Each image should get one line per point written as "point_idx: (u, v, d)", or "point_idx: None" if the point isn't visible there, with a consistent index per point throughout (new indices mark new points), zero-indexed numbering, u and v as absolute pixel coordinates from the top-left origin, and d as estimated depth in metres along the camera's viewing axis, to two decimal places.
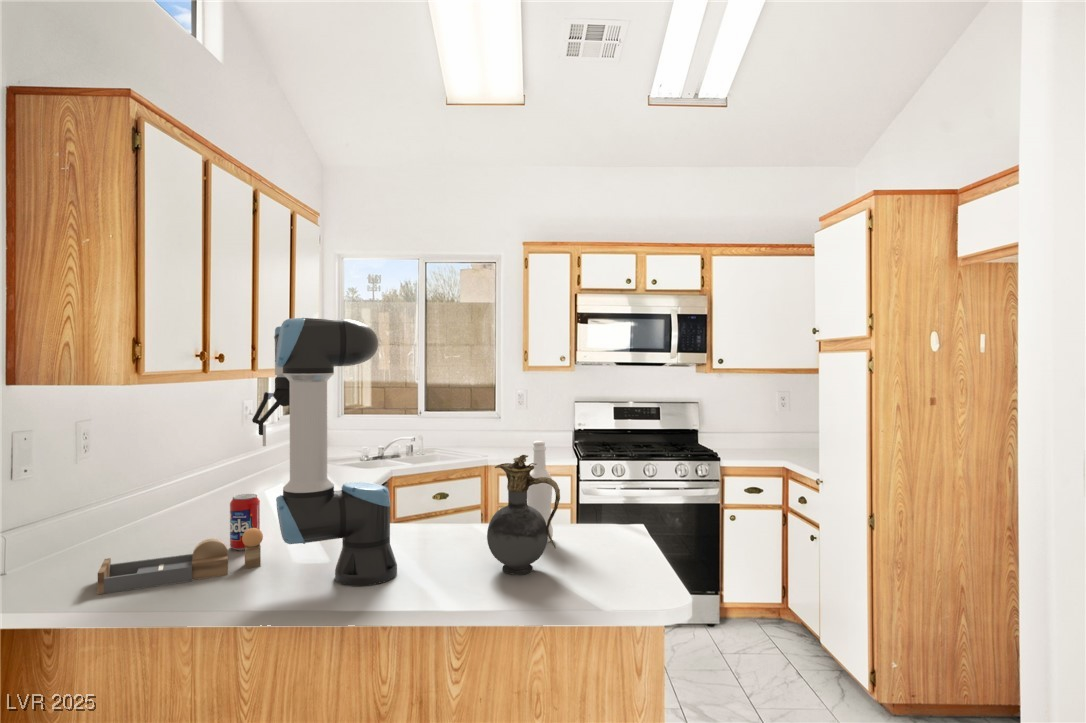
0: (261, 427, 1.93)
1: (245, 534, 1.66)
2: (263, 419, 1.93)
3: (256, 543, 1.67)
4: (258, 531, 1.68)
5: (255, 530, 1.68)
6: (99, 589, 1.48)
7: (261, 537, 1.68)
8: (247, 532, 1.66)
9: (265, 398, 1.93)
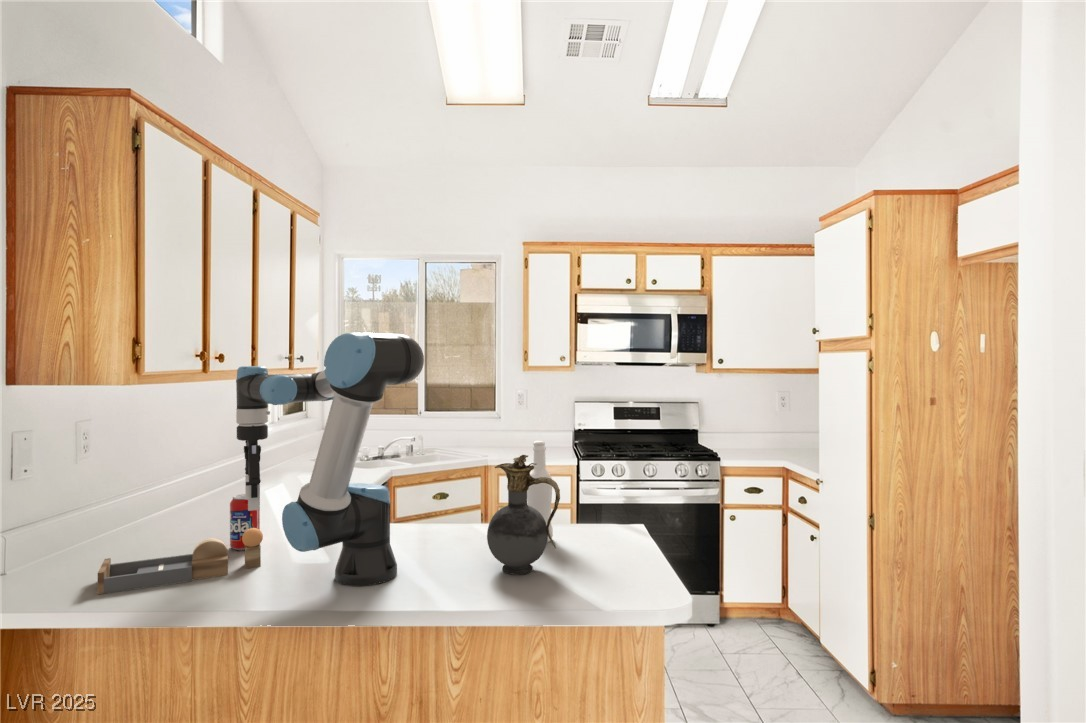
0: None
1: (245, 534, 1.66)
2: (246, 469, 1.74)
3: (256, 543, 1.67)
4: (258, 531, 1.68)
5: (255, 530, 1.68)
6: (99, 589, 1.48)
7: (261, 537, 1.68)
8: (247, 532, 1.66)
9: (246, 446, 1.73)
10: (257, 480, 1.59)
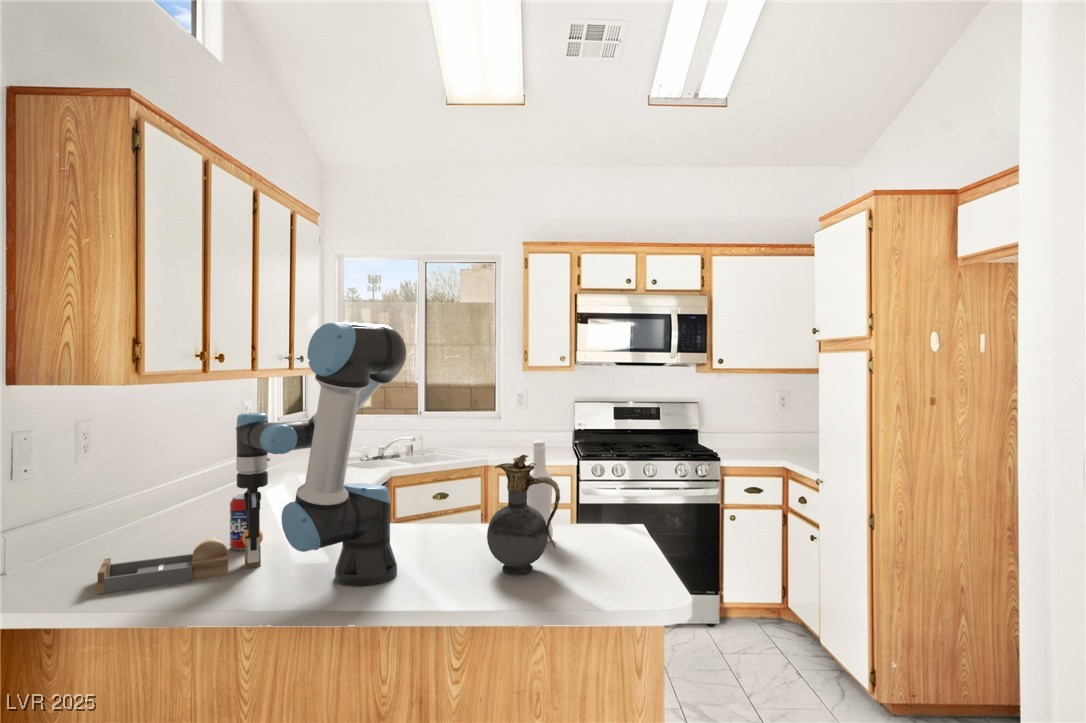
0: None
1: (245, 534, 1.66)
2: (246, 524, 1.71)
3: None
4: None
5: None
6: (99, 589, 1.48)
7: (261, 537, 1.68)
8: (247, 532, 1.66)
9: None
10: (256, 535, 1.63)
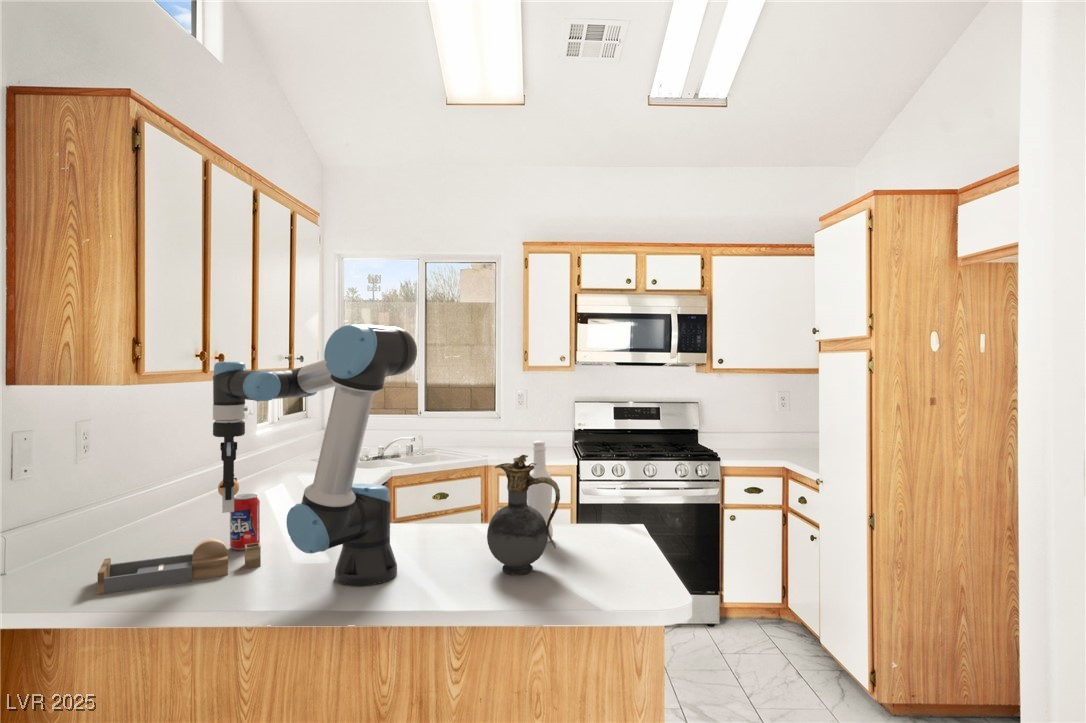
0: None
1: (221, 484, 1.64)
2: None
3: None
4: (234, 481, 1.65)
5: None
6: (99, 589, 1.48)
7: (237, 487, 1.66)
8: (222, 482, 1.64)
9: None
10: (231, 484, 1.61)
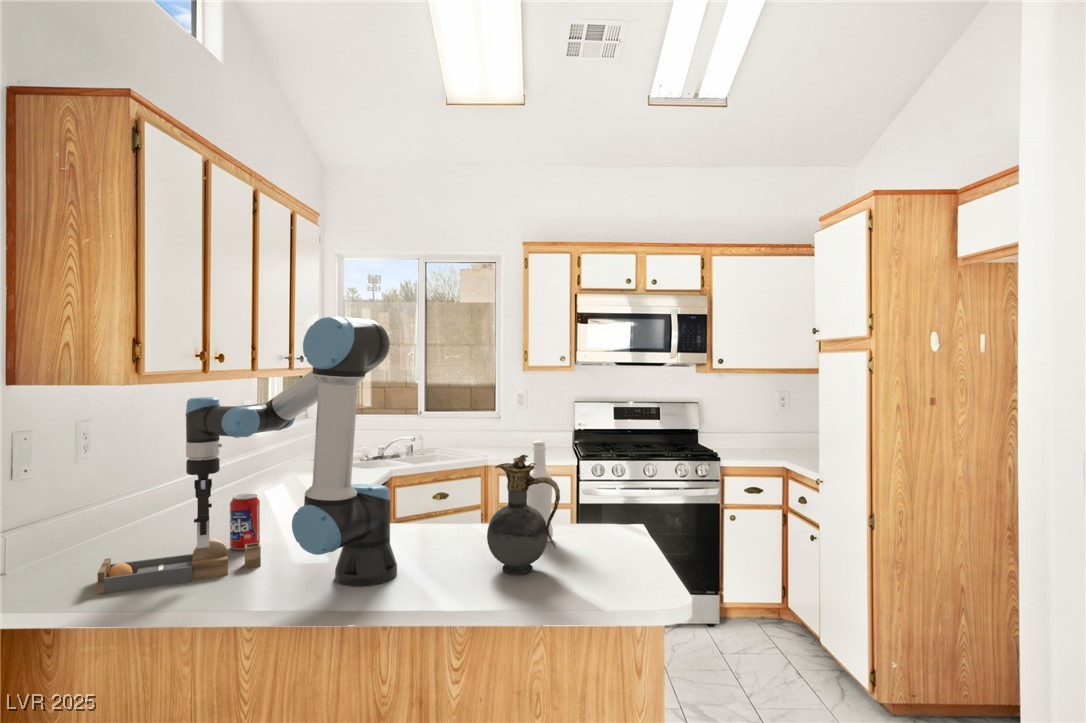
0: None
1: None
2: None
3: (119, 570, 1.53)
4: None
5: None
6: (99, 589, 1.48)
7: (111, 571, 1.52)
8: None
9: None
10: (205, 517, 1.54)
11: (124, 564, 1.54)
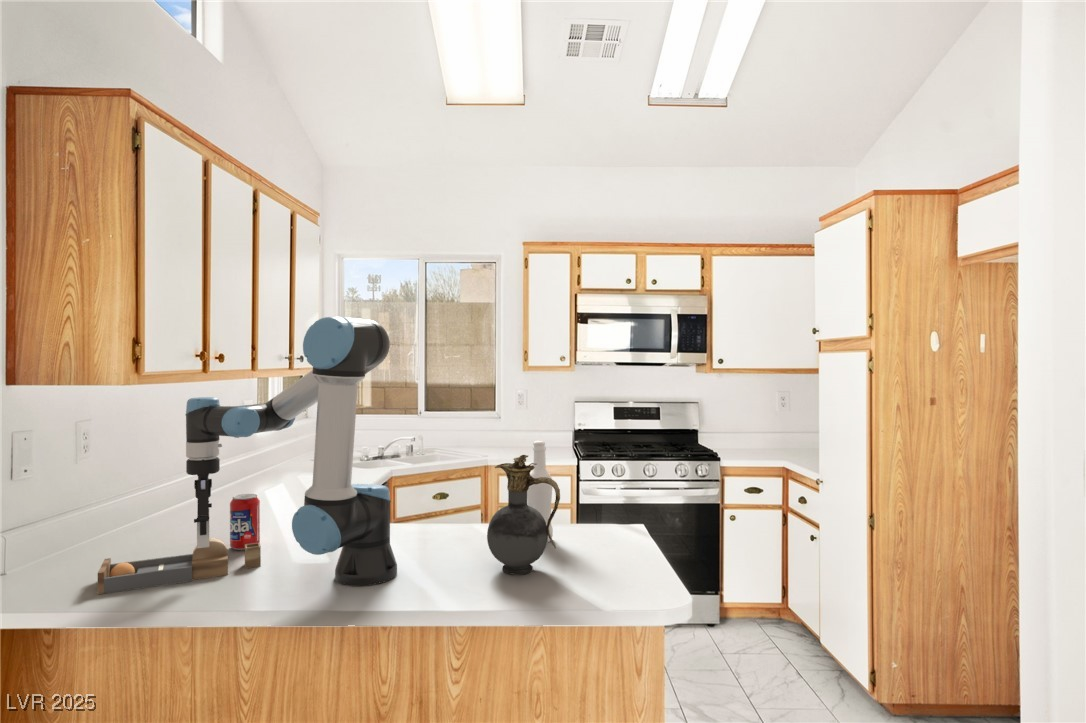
0: None
1: None
2: None
3: (123, 570, 1.53)
4: (111, 576, 1.53)
5: None
6: (99, 589, 1.48)
7: (114, 569, 1.53)
8: None
9: None
10: (205, 517, 1.54)
11: (128, 564, 1.55)
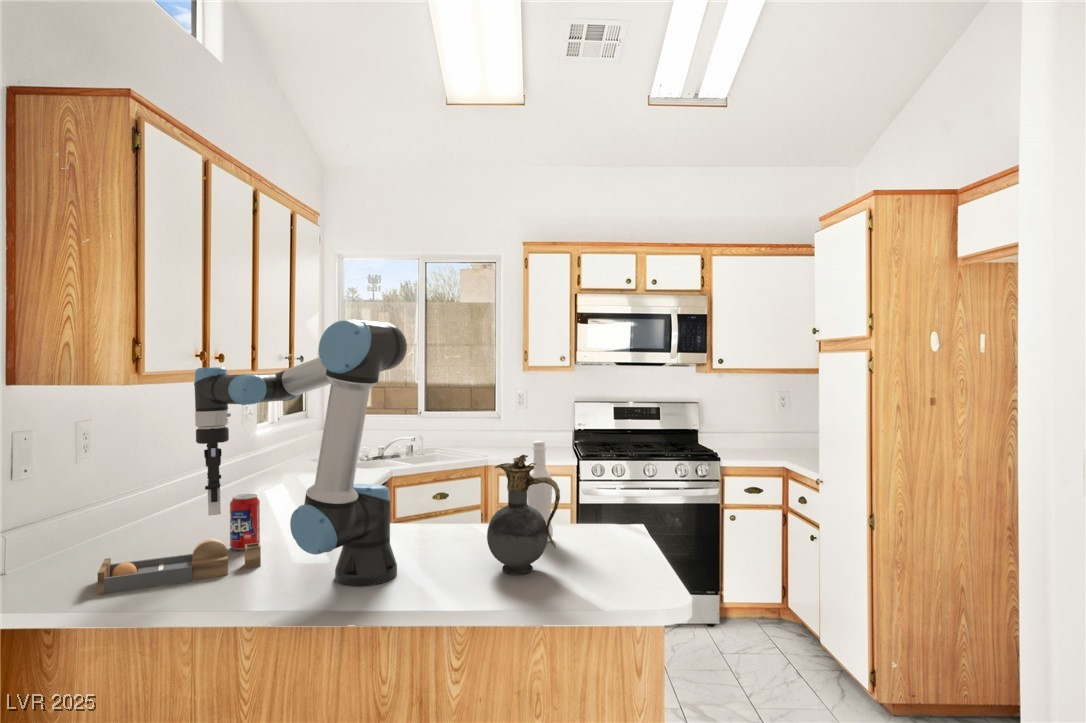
0: None
1: None
2: None
3: (126, 569, 1.53)
4: (113, 574, 1.53)
5: None
6: (99, 589, 1.48)
7: (118, 568, 1.53)
8: None
9: None
10: (217, 484, 1.55)
11: (132, 565, 1.55)
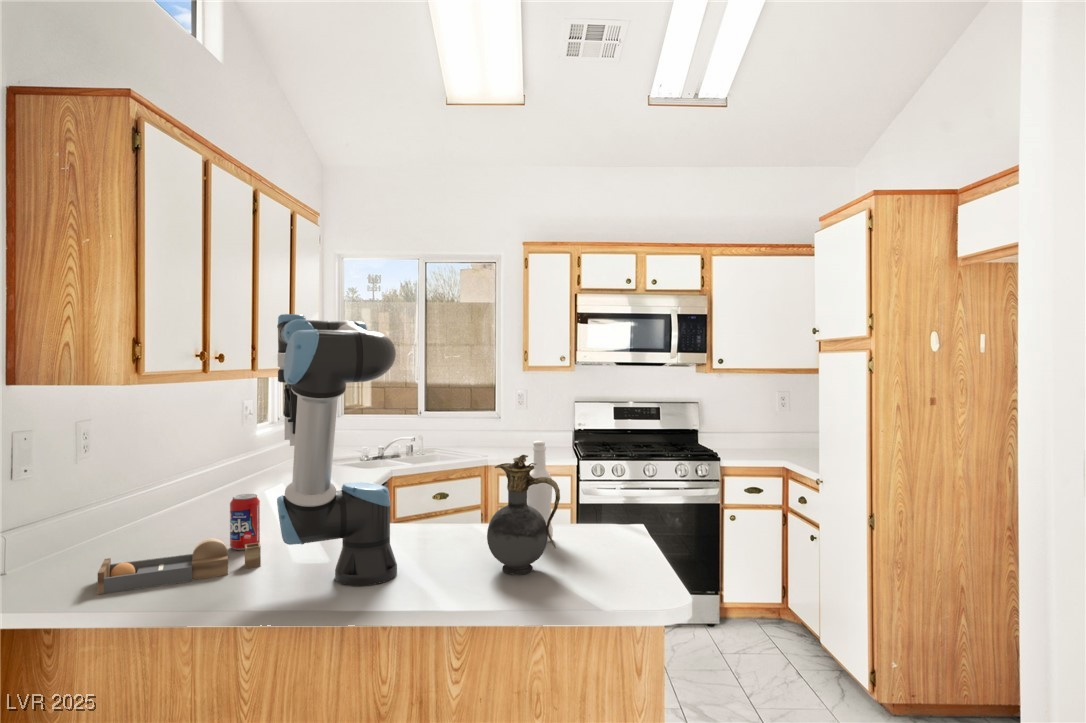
0: None
1: None
2: (285, 412, 1.87)
3: (123, 569, 1.53)
4: (111, 576, 1.53)
5: None
6: (99, 589, 1.48)
7: (115, 569, 1.53)
8: None
9: None
10: None
11: (129, 564, 1.55)
